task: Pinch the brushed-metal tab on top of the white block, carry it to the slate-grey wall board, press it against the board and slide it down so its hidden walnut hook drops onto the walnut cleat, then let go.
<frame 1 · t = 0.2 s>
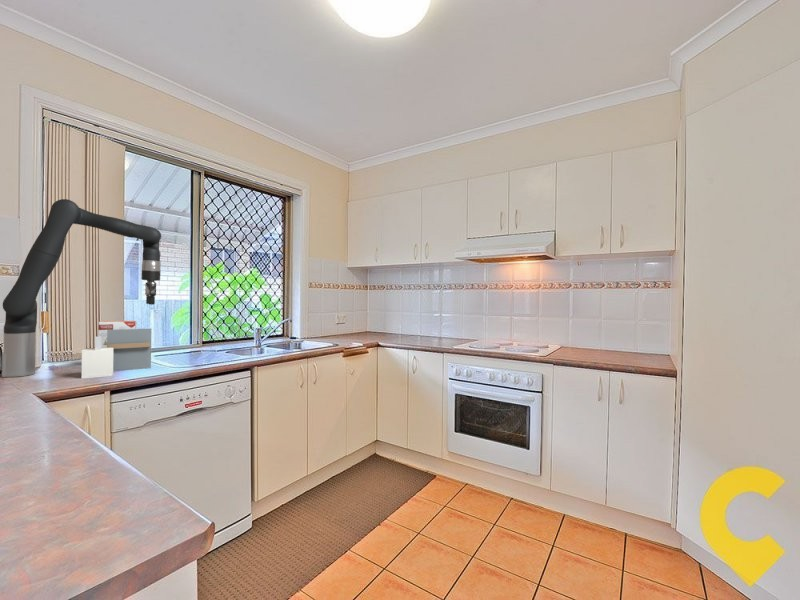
hand: (150, 304, 181), 29 cm above the worktop, fingers open, 8 cm apart
cracker box: (117, 365, 179), on the worktop
wall board: (129, 369, 169), on the worktop
white block: (97, 375, 155), on the worktop
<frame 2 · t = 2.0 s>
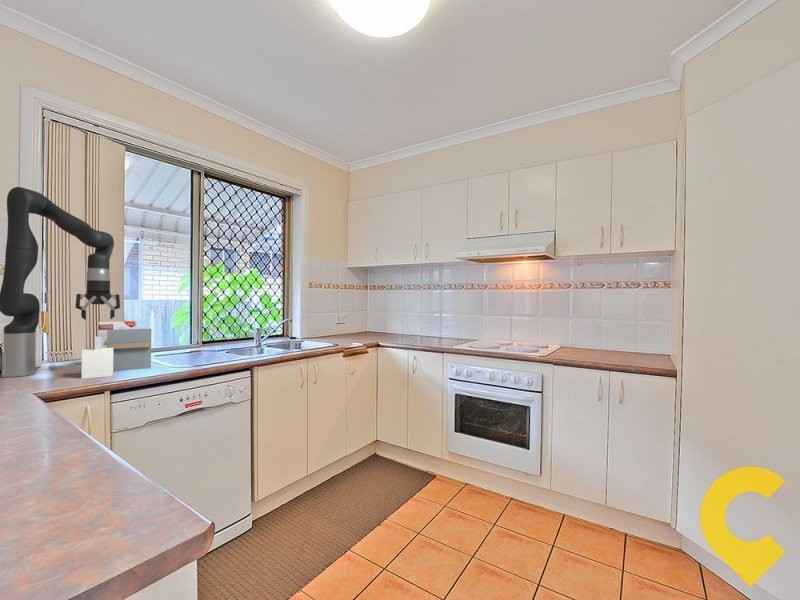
hand: (98, 319, 155), 23 cm above the worktop, fingers open, 8 cm apart
nothing on the worktop moved.
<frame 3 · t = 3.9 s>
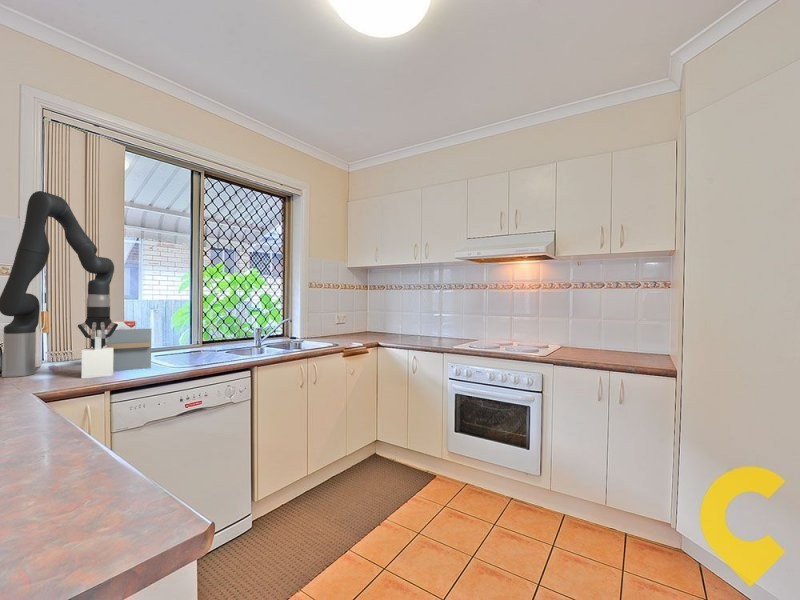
hand: (98, 347, 155), 12 cm above the worktop, fingers closed on white block
white block: (97, 375, 155), on the worktop, touching gripper
everything else where it was.
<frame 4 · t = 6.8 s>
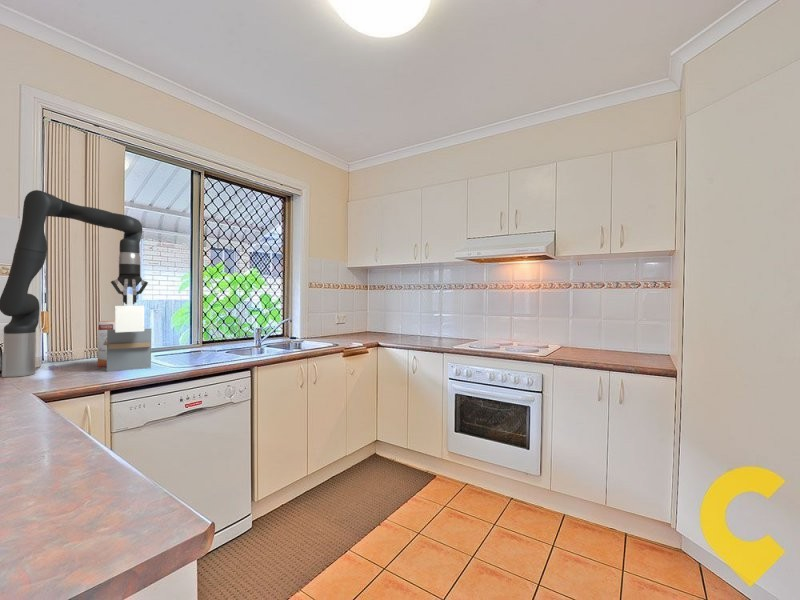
hand: (129, 303, 162), 30 cm above the worktop, fingers closed on white block
white block: (129, 331, 162), point 18 cm above the worktop, touching gripper
everything else where it was.
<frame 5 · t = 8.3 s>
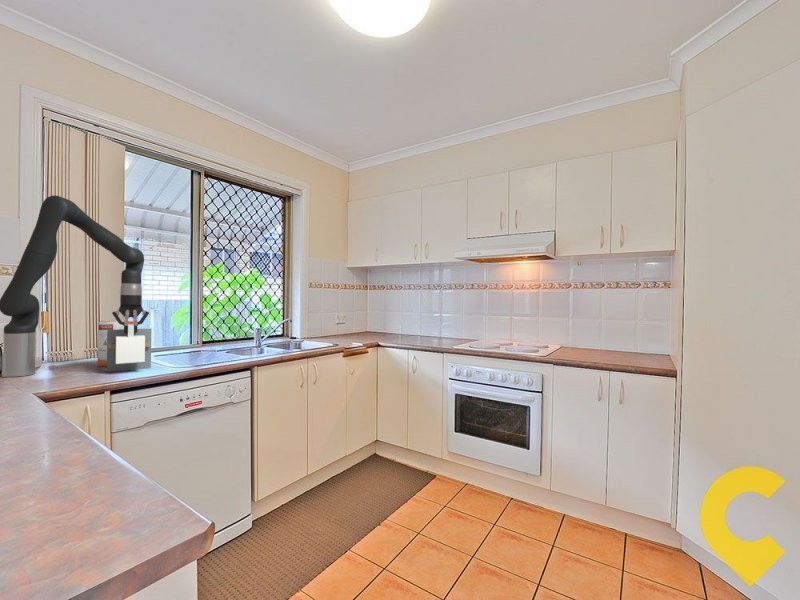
hand: (130, 334, 163), 17 cm above the worktop, fingers closed on white block
white block: (130, 361, 163), point 5 cm above the worktop, touching gripper
everything else where it was.
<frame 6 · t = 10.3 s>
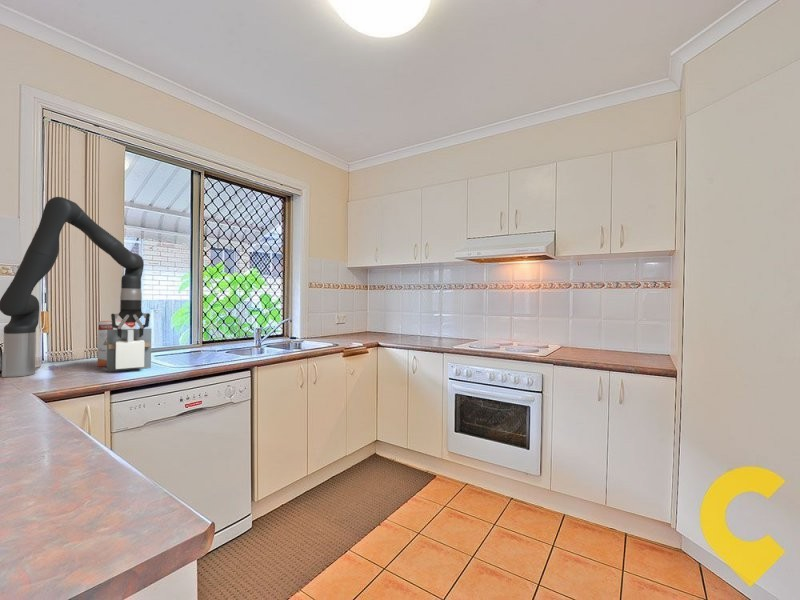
hand: (130, 337, 165), 15 cm above the worktop, fingers open, 6 cm apart
white block: (129, 366, 165), point 2 cm above the worktop, touching wall board
everything else where it was.
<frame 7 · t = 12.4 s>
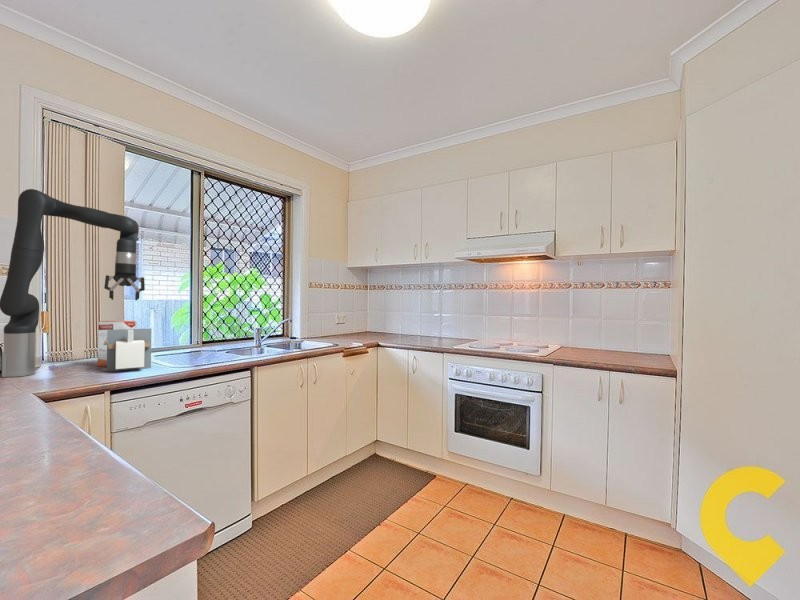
hand: (124, 300, 166), 31 cm above the worktop, fingers open, 8 cm apart
nothing on the worktop moved.
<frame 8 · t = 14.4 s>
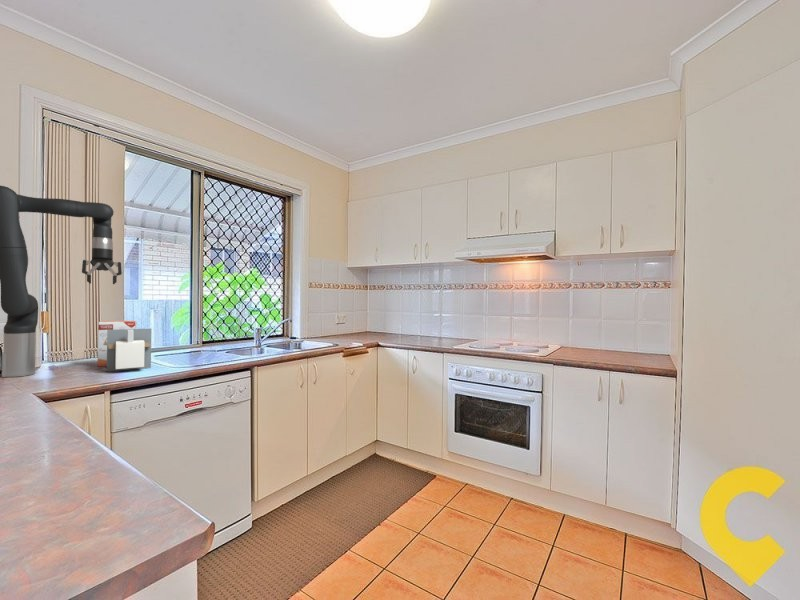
hand: (102, 283, 173), 38 cm above the worktop, fingers open, 8 cm apart
nothing on the worktop moved.
at the end: white block inside the target area (0.2 cm from its centre), point 2.1 cm above the worktop; white block tilted 4°; the gripper is holding nothing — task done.
